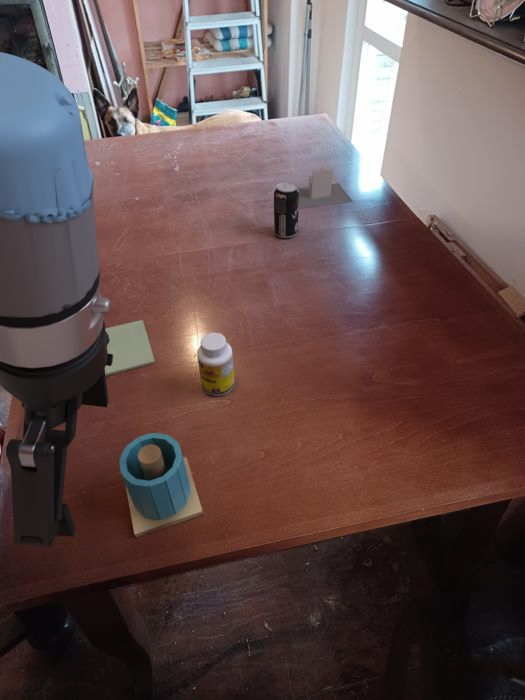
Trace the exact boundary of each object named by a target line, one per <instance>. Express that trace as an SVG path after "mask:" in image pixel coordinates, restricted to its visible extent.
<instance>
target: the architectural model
mask: <svg viewBox="0 0 525 700" xmlns="http://www.w3.org/2000/svg"><path fill="white" fill-rule="evenodd" d="M333 173H334V168H333V167H332V168H325V167H324V166H322V167H321V168H319V169H317V170H316V169H315V170H312V175H311V177H310V178H308V179H307V182H308V186H305V187H297V190H298V191H299V210H300V209H308V208H315V207H322V206H330V205H337V204H346V203H353V202H354V200H353V199H352V198H351V196H350V195H349V194H348V193H347V192H346V190H345V189H344V188H343V187H342V186H341V184H340V183H339V182H337V181H336V179H334V177H333V175H334V174H333Z"/></svg>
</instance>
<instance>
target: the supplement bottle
mask: <svg viewBox="0 0 525 700" xmlns="http://www.w3.org/2000/svg"><path fill="white" fill-rule="evenodd" d="M196 354H197V355H196V358H197V363H198V368H199V369H198V370H199V376H200V377H199V378H200V382H201V387H202V389H203V391H204V392H205V393H207V395H211V396H215V397H219V396H225V395H227V394H228V393H230V392H231V391H232V390H233V388H234V386H235V383H236V382H235V381H236V379H235V369H234V368H235V366H234V354H233V348H232V346H231V345H230V343H229V342H227V338H226V337H225V336H224V335H223V334H221V333H219V332H210V333H207V334H205V335H203V337H202V338H201V339H200V345H199V347H198V348H197V352H196Z"/></svg>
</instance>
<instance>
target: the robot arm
mask: <svg viewBox="0 0 525 700" xmlns="http://www.w3.org/2000/svg"><path fill="white" fill-rule="evenodd" d="M83 130H84V129H83V125H82V119H81V112H80V109H79V107H78V103H77V101H76V99H75V97H74V96H73V94H72V93H71V91H70V90H69V88H68V87H67V86H66V85H65V83H64V82H62V80H60V79H59V77H57V76H56V75H54V74H53V73H52V72H50V71H49V70H47V69H46V68H44V67H42V66H41V65H39V64H37V63H34V62H33V61H31V60H28V59H26V58H23V57H20V56H17V55H14V54H10V53H5V52H3V51H0V386H1V388H2V389H3V390H4V391H6V393H8V394H9V395H11V396H12V397H14V398H16V399H17V400H18V401H19V402H21V407H22V408H23V409H24V410H23V411H24V412H23V413H24V414H23V415H24V417H23V430H22V432H23V433H22V437H23V438H22V439H19V438H10V439H9V441H8V442H7V445H6V447H5V455H6V459H7V461H8V465H9V467H10V475H11V476H10V477H11V493H12V494H11V496H12V497H11V498H12V518H13V537H14V539H13V540H14V541H13V542H14V544H15V545H18V546H19V545H20V546H31V547H46V548H50V547H51V546H52V545H53V543H54V541H55V538H57V537H60V536H61V537H71V538H73V537H74V536H75V533H76V526H75V523H74V520H73V517H72V514H71V512H70V509H69V506H68V504H67V503H63V501H64V490H65V478H66V469H67V468H66V467H67V456H68V446H70V444H71V443H72V441H74V439H75V437H76V431H77V422H78V412H79V410H80V409H81V407H82V405H84V406H90V407H91V406H93V407H100V408H108V405H109V394H108V385H107V384H108V383H107V376H106V375H105V366H111V365H112V362H113V354H108V351H107V345H108V344H109V341H110V339H109V335H108V334H107V332H106V330H105V329H106V323H105V320H104V314H108V313H109V312H110V311H111V309H112V303H111V300H110V299H109V298H107V297H102V293H101V279H100V278H101V277H100V276H101V273H100V264H99V251H98V250H99V249H98V237H97V225H96V210H95V198H94V176H93V175H94V174H93V172H92V170H91V169H90V165H89V163H88V162H89V161H88V156H87V149H86V144H85V135H84V131H83ZM63 424H65V426H64V430H63V429H55V428H57V427H59V426H61V425H63Z"/></svg>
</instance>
